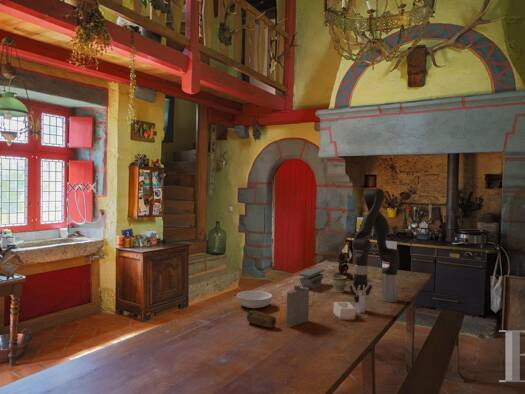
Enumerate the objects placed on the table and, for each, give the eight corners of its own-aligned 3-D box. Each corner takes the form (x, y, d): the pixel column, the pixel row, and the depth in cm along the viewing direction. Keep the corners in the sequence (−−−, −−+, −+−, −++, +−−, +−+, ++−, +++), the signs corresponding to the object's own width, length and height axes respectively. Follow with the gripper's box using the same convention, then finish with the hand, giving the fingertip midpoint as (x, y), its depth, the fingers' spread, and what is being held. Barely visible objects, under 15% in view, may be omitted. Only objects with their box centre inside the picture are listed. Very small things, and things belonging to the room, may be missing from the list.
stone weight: (244, 324, 203) (245, 311, 203) (251, 320, 209) (251, 308, 209) (271, 330, 196) (271, 317, 196) (277, 326, 202) (277, 313, 202)
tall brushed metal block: (360, 309, 234) (360, 292, 234) (364, 312, 227) (365, 295, 227) (354, 309, 233) (355, 292, 233) (358, 313, 226) (359, 295, 226)
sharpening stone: (309, 291, 271) (309, 275, 271) (298, 289, 275) (299, 273, 275) (323, 283, 292) (324, 269, 292) (313, 282, 297) (314, 267, 296)
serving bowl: (279, 306, 235) (279, 295, 235) (254, 314, 220) (254, 302, 219) (254, 299, 249) (254, 288, 249) (229, 305, 234) (229, 294, 234)
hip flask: (289, 327, 200) (290, 288, 199) (283, 325, 203) (284, 286, 202) (309, 320, 211) (310, 283, 210) (303, 318, 214) (304, 282, 213)
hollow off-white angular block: (347, 312, 227) (348, 301, 227) (355, 319, 215) (355, 308, 215) (333, 312, 226) (333, 302, 226) (340, 319, 214) (340, 308, 214)
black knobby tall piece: (338, 275, 323) (339, 250, 322) (355, 277, 314) (356, 252, 314) (330, 278, 311) (331, 252, 311) (348, 281, 302) (349, 255, 302)
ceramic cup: (329, 292, 270) (330, 277, 270) (333, 288, 279) (333, 274, 279) (349, 294, 265) (349, 279, 265) (351, 291, 274) (352, 276, 274)
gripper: (369, 271, 234) (368, 300, 235) (346, 271, 232) (345, 300, 233) (375, 274, 227) (374, 304, 227) (351, 274, 225) (350, 304, 225)
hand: (359, 302), depth 230 cm, fingers closed on tall brushed metal block, 3 cm apart
